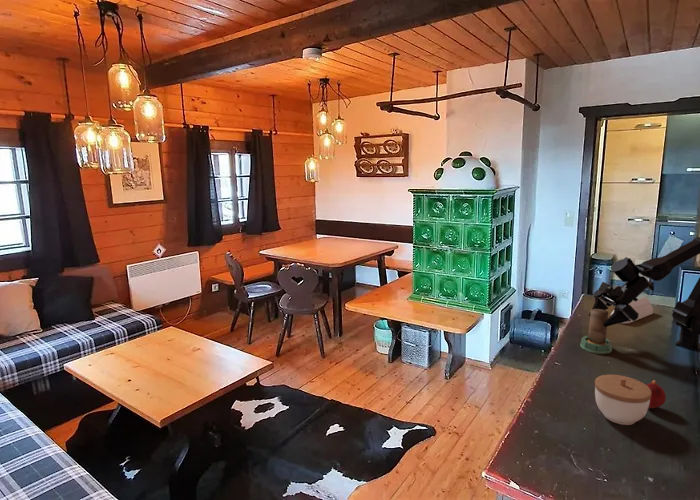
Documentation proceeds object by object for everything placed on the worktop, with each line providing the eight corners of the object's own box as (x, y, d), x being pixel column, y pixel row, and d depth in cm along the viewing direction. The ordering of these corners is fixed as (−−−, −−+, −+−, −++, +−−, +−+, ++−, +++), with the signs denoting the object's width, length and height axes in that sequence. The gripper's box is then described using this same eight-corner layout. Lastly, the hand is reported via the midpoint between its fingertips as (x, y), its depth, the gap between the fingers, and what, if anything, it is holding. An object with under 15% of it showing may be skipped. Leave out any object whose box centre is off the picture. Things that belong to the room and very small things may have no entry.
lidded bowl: (583, 404, 123) (586, 367, 121) (629, 404, 123) (633, 367, 121) (608, 431, 111) (612, 391, 109) (659, 431, 111) (664, 391, 108)
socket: (587, 340, 165) (588, 332, 165) (616, 348, 158) (617, 340, 157) (575, 347, 159) (575, 340, 159) (605, 356, 152) (605, 349, 151)
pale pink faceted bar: (633, 299, 197) (603, 310, 185) (649, 295, 191) (619, 306, 179) (640, 315, 195) (611, 327, 183) (657, 312, 189) (627, 324, 177)
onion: (668, 414, 117) (671, 387, 116) (644, 412, 119) (647, 385, 117) (657, 403, 123) (661, 376, 121) (634, 401, 124) (638, 375, 123)
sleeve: (595, 341, 162) (599, 308, 159) (608, 347, 157) (612, 313, 154) (583, 344, 160) (586, 309, 158) (596, 350, 155) (599, 315, 152)
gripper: (600, 268, 162) (568, 298, 164) (633, 282, 144) (596, 315, 146) (620, 288, 164) (588, 317, 166) (654, 304, 145) (618, 337, 148)
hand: (596, 321), depth 156 cm, fingers open, 9 cm apart
